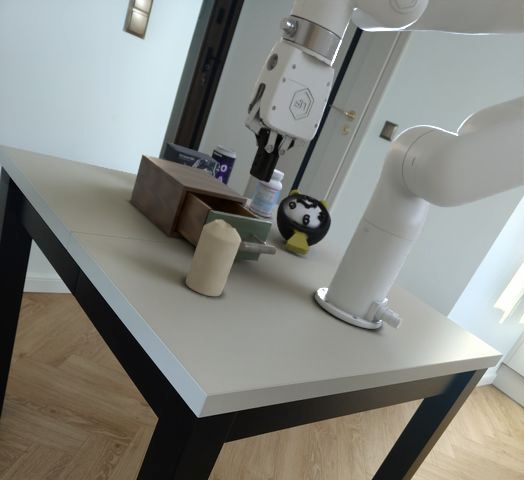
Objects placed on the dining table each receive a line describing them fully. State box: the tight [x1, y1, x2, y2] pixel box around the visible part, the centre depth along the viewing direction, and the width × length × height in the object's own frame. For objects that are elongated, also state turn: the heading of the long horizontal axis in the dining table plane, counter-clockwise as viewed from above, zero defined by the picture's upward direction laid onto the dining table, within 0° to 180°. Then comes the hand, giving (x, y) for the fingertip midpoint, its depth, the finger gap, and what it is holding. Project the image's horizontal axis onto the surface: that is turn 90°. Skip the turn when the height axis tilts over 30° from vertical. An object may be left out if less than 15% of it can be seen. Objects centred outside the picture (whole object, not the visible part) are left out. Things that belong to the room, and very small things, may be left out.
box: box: [161, 141, 220, 177], centre depth 111 cm, size 11×7×10 cm, turn 123°
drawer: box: [175, 191, 277, 262], centre depth 88 cm, size 21×13×7 cm, turn 39°
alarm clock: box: [276, 189, 332, 256], centre depth 114 cm, size 12×15×15 cm
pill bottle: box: [249, 168, 285, 218], centre depth 129 cm, size 6×6×11 cm
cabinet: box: [130, 153, 248, 239], centre depth 96 cm, size 16×14×9 cm
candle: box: [185, 219, 241, 297], centre depth 72 cm, size 6×6×10 cm
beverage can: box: [210, 144, 237, 186], centre depth 124 cm, size 6×6×12 cm
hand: (259, 178), depth 75 cm, fingers closed
